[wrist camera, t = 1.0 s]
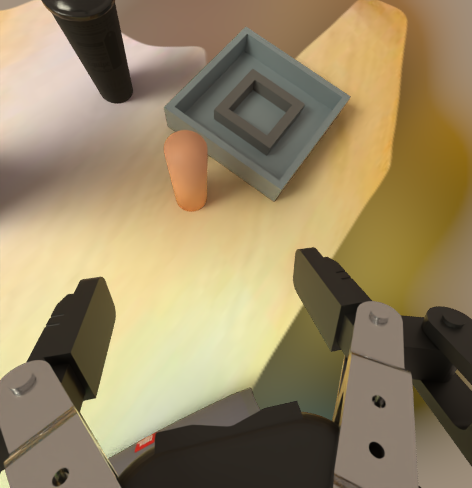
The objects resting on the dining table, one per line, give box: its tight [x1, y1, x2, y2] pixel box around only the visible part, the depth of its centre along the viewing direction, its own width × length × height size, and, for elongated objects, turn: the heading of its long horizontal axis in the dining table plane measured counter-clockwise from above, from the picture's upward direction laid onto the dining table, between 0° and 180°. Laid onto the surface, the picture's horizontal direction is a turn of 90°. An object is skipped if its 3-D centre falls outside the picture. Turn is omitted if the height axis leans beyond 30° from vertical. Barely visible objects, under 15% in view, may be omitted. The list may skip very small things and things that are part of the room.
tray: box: [164, 27, 350, 201], centre depth 42 cm, size 20×20×4 cm
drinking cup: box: [42, 0, 133, 103], centre depth 32 cm, size 8×8×20 cm
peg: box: [164, 130, 208, 211], centre depth 33 cm, size 4×4×12 cm
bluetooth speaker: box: [108, 388, 260, 476], centre depth 26 cm, size 23×9×10 cm, turn 115°
